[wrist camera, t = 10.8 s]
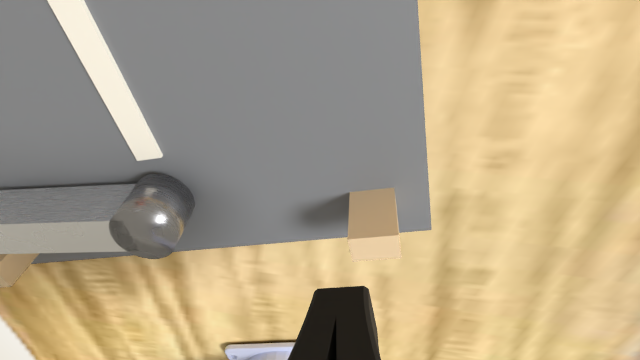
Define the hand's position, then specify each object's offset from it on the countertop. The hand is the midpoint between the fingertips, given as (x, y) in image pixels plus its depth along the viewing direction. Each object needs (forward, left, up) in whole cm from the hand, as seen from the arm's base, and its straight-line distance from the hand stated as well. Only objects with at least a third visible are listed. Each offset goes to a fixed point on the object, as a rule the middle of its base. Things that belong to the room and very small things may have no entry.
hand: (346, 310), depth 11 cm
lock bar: (-1, +14, -7) cm, 15 cm away
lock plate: (+3, +9, -9) cm, 13 cm away
